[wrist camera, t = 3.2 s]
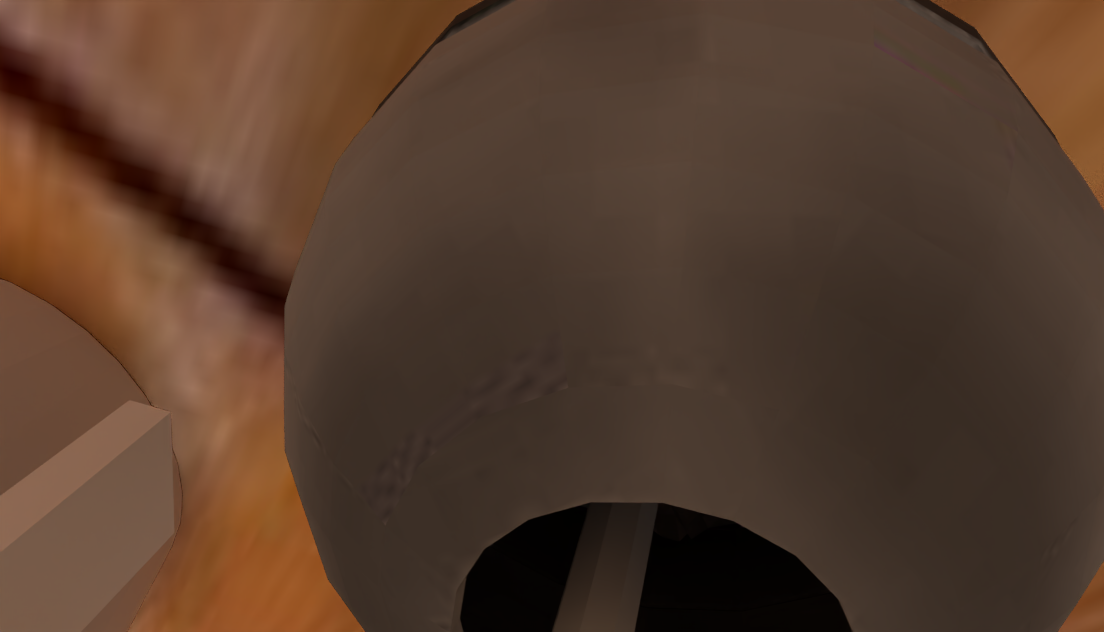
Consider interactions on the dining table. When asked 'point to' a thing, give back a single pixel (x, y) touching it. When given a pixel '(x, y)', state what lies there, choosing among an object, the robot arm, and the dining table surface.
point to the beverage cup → (702, 330)
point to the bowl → (63, 412)
